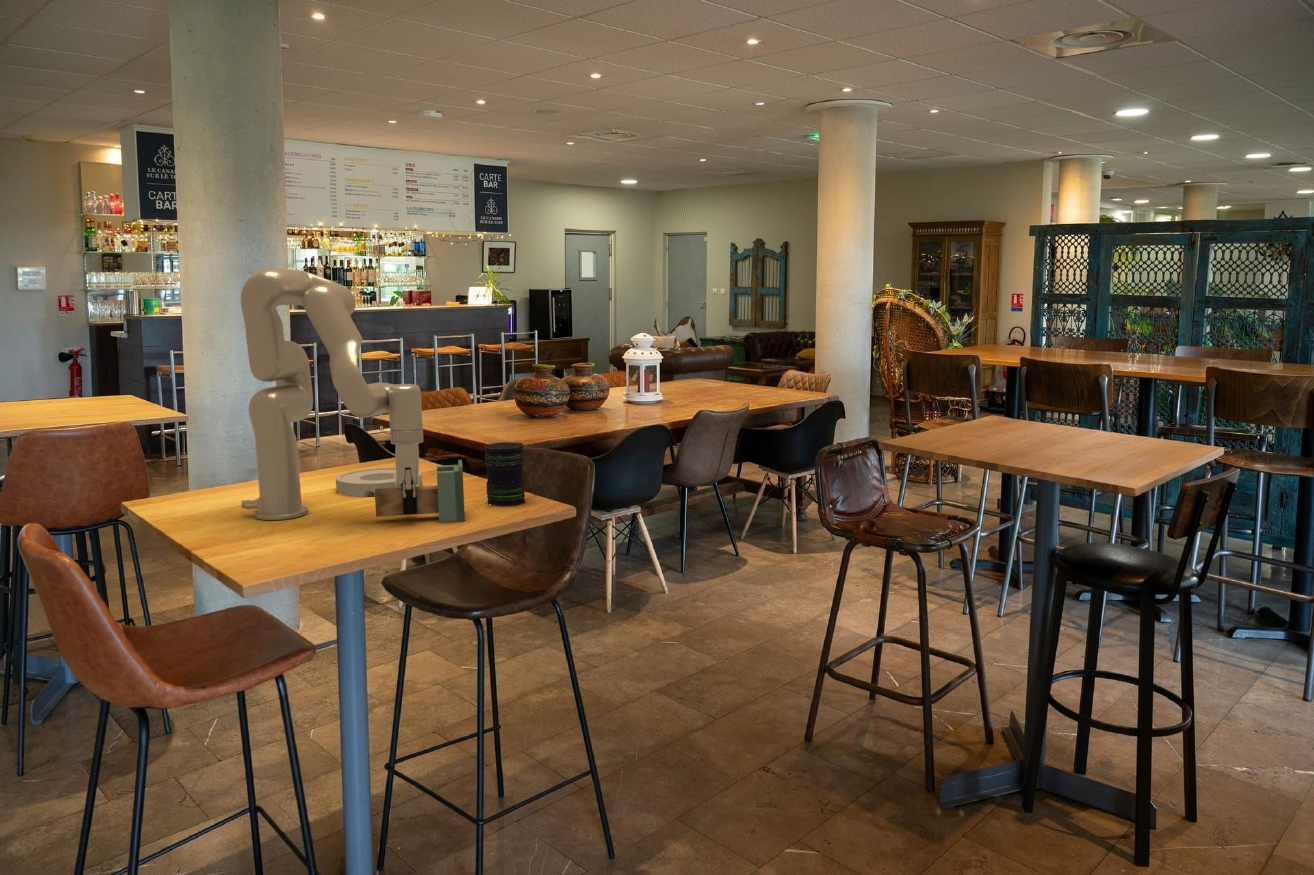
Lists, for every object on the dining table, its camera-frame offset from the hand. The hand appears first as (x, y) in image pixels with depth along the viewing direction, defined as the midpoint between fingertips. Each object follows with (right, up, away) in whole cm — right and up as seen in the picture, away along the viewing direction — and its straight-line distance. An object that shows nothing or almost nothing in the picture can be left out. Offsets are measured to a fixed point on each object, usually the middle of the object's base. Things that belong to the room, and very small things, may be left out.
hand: (410, 510), depth 234 cm
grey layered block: (-5, +1, +21) cm, 22 cm away
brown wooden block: (0, -1, 0) cm, 1 cm away
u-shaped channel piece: (+9, -2, +2) cm, 10 cm away
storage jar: (+20, +1, +18) cm, 27 cm away
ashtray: (-18, +3, +38) cm, 42 cm away
